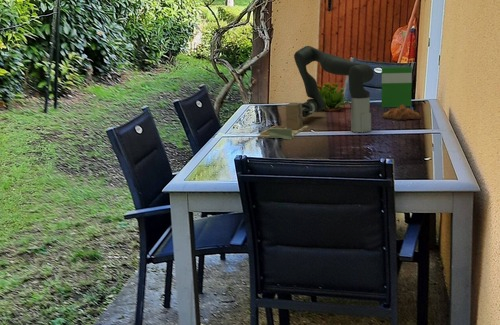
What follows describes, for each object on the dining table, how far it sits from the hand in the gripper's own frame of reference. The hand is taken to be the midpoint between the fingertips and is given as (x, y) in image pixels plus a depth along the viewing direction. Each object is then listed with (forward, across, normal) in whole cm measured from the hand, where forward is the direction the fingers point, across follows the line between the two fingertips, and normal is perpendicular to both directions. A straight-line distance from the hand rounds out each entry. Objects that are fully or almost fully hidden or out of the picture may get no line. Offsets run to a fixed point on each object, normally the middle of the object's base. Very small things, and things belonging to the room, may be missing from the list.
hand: (296, 114), depth 319 cm
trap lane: (+13, +3, -8) cm, 15 cm away
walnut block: (+4, 0, -7) cm, 8 cm away
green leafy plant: (-62, -2, -8) cm, 63 cm away
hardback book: (-79, -38, -8) cm, 88 cm away
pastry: (-37, -48, -8) cm, 61 cm away
